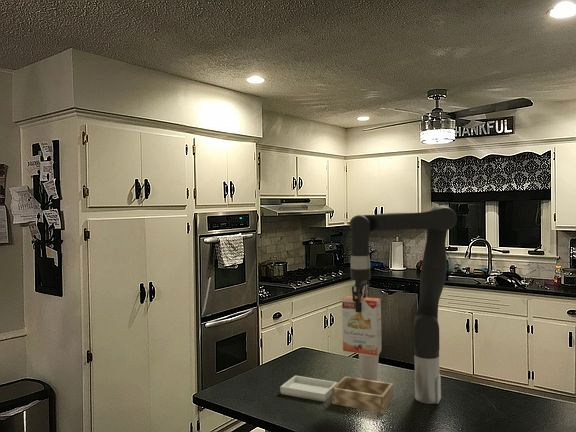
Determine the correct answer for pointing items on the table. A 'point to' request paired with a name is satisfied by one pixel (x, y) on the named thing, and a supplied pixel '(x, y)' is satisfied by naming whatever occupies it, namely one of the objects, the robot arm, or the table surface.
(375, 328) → the cracker box
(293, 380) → the white tray
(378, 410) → the oak holder
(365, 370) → the coffee cup
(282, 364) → the table surface
